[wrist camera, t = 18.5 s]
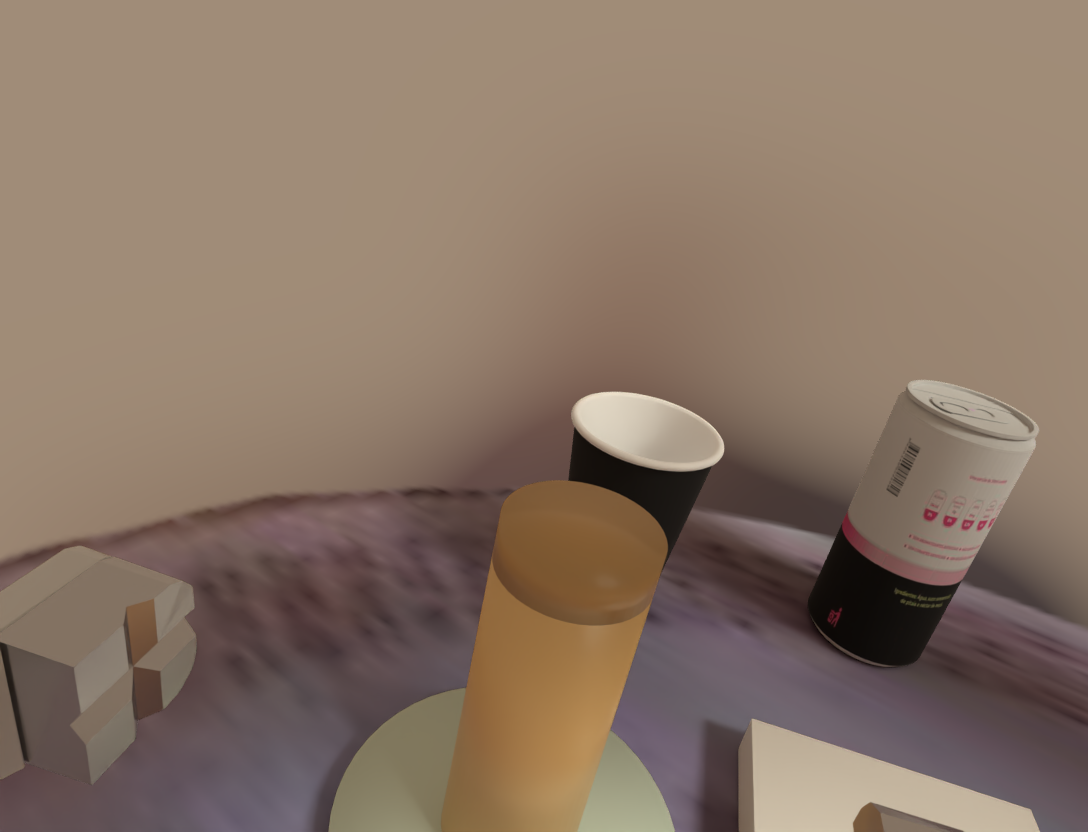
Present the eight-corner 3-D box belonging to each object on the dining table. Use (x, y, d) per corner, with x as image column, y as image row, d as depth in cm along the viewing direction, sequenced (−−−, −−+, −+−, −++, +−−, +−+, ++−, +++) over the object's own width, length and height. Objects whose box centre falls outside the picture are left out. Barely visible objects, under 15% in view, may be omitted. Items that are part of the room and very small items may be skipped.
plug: (557, 913, 25) (659, 604, 19) (419, 861, 25) (477, 547, 19) (584, 788, 29) (674, 508, 23) (467, 747, 30) (525, 464, 24)
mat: (739, 982, 25) (748, 965, 24) (344, 1111, 20) (346, 1094, 19) (594, 685, 35) (598, 670, 35) (314, 723, 31) (316, 706, 30)
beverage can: (793, 585, 46) (885, 369, 40) (893, 604, 46) (1000, 392, 40) (822, 660, 40) (936, 421, 34) (937, 682, 40) (1072, 448, 34)
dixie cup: (509, 603, 40) (547, 425, 35) (563, 534, 46) (601, 377, 42) (646, 665, 37) (707, 484, 33) (682, 583, 44) (737, 423, 39)
